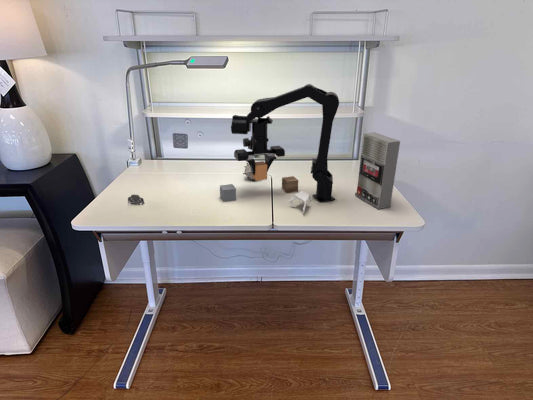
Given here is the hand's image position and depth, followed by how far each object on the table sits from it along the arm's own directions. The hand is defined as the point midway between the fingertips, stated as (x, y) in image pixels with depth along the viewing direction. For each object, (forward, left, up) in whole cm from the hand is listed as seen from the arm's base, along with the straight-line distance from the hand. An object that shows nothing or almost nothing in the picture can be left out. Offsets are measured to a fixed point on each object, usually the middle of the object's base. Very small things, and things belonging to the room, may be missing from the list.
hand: (259, 174), depth 145 cm
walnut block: (0, -13, -8) cm, 16 cm away
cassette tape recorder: (-21, -38, -9) cm, 44 cm away
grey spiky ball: (+17, -3, -9) cm, 19 cm away
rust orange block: (0, 0, -2) cm, 2 cm away
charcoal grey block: (0, +13, -8) cm, 15 cm away
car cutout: (+4, +43, -9) cm, 44 cm away
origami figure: (-18, -10, -9) cm, 22 cm away
